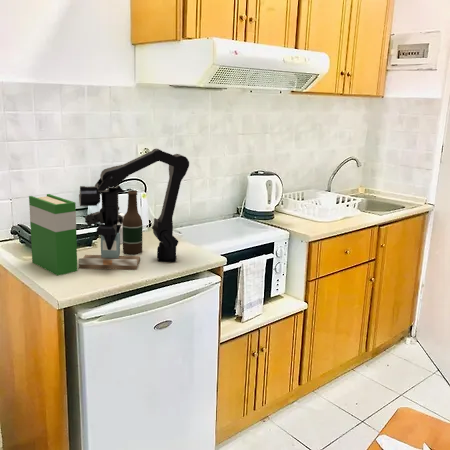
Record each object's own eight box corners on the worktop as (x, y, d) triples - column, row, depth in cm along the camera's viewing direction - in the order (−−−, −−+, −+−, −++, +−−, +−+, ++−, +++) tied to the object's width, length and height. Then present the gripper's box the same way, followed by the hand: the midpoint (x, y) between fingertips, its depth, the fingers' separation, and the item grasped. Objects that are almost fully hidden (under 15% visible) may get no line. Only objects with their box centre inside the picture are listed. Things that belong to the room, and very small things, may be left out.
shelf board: (140, 260, 189) (140, 251, 188) (136, 270, 178) (136, 260, 177) (85, 258, 187) (85, 249, 187) (78, 268, 176) (78, 259, 176)
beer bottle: (144, 249, 201) (145, 190, 195) (139, 255, 194) (139, 193, 188) (125, 248, 202) (125, 188, 196) (119, 254, 194) (119, 192, 188)
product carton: (103, 253, 185) (103, 232, 183) (120, 254, 185) (119, 232, 183) (101, 257, 180) (100, 235, 178) (118, 258, 180) (117, 236, 179)
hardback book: (32, 262, 181) (28, 196, 175) (51, 258, 186) (49, 193, 180) (57, 275, 169) (54, 205, 163) (77, 270, 174) (75, 202, 169)
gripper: (92, 199, 187) (93, 239, 190) (80, 210, 168) (81, 255, 172) (122, 200, 187) (123, 240, 191) (114, 211, 169) (115, 256, 173)
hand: (110, 247), depth 182 cm, fingers closed on product carton, 5 cm apart
